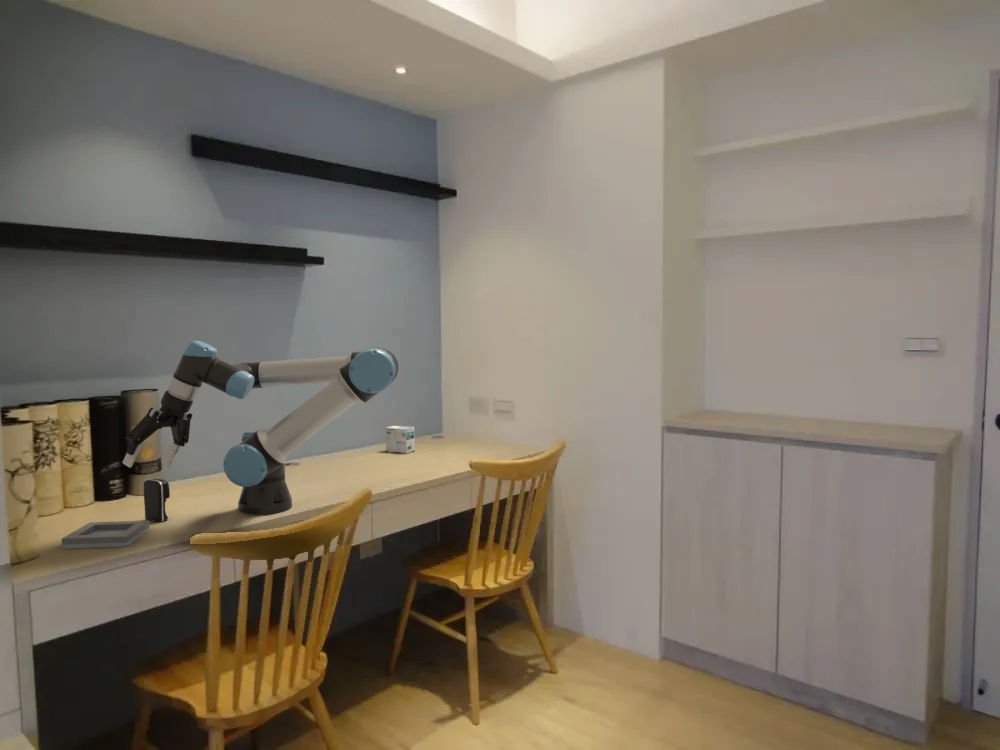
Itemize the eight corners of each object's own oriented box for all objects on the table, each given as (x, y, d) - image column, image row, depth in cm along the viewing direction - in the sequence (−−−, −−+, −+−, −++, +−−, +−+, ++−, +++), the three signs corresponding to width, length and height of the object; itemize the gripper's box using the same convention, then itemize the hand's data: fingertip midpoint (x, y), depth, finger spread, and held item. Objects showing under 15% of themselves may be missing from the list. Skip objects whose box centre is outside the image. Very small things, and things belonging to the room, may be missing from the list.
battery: (172, 519, 194) (171, 479, 193) (160, 523, 190) (158, 481, 190) (156, 516, 197) (154, 476, 196) (144, 519, 194) (142, 479, 193)
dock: (149, 529, 184) (149, 520, 184) (126, 546, 170) (126, 536, 170) (90, 531, 182) (89, 522, 182) (62, 548, 169) (61, 538, 168)
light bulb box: (415, 451, 298) (415, 426, 298) (407, 454, 292) (406, 428, 291) (394, 449, 303) (393, 425, 302) (385, 452, 297) (385, 427, 296)
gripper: (201, 392, 202) (170, 457, 202) (134, 384, 178) (99, 458, 178) (220, 404, 199) (188, 470, 200) (155, 397, 175) (119, 472, 176)
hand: (146, 464), depth 189 cm, fingers open, 13 cm apart
